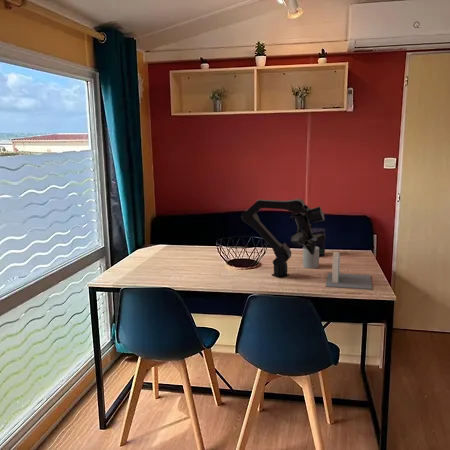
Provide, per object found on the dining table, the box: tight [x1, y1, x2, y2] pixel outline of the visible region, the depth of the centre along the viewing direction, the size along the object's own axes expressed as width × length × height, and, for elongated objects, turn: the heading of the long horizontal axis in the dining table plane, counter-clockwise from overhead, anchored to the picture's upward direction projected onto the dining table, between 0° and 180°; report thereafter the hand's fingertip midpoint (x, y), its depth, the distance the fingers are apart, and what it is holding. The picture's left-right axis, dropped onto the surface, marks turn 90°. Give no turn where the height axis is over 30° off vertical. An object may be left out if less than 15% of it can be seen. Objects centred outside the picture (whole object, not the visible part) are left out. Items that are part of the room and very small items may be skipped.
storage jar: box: [311, 227, 326, 258], centre depth 260 cm, size 10×10×15 cm
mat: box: [325, 272, 373, 291], centre depth 215 cm, size 20×20×1 cm
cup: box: [302, 246, 320, 270], centre depth 239 cm, size 8×8×10 cm
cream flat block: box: [331, 251, 341, 283], centre depth 215 cm, size 3×10×12 cm, turn 165°
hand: (312, 254), depth 221 cm, fingers closed
